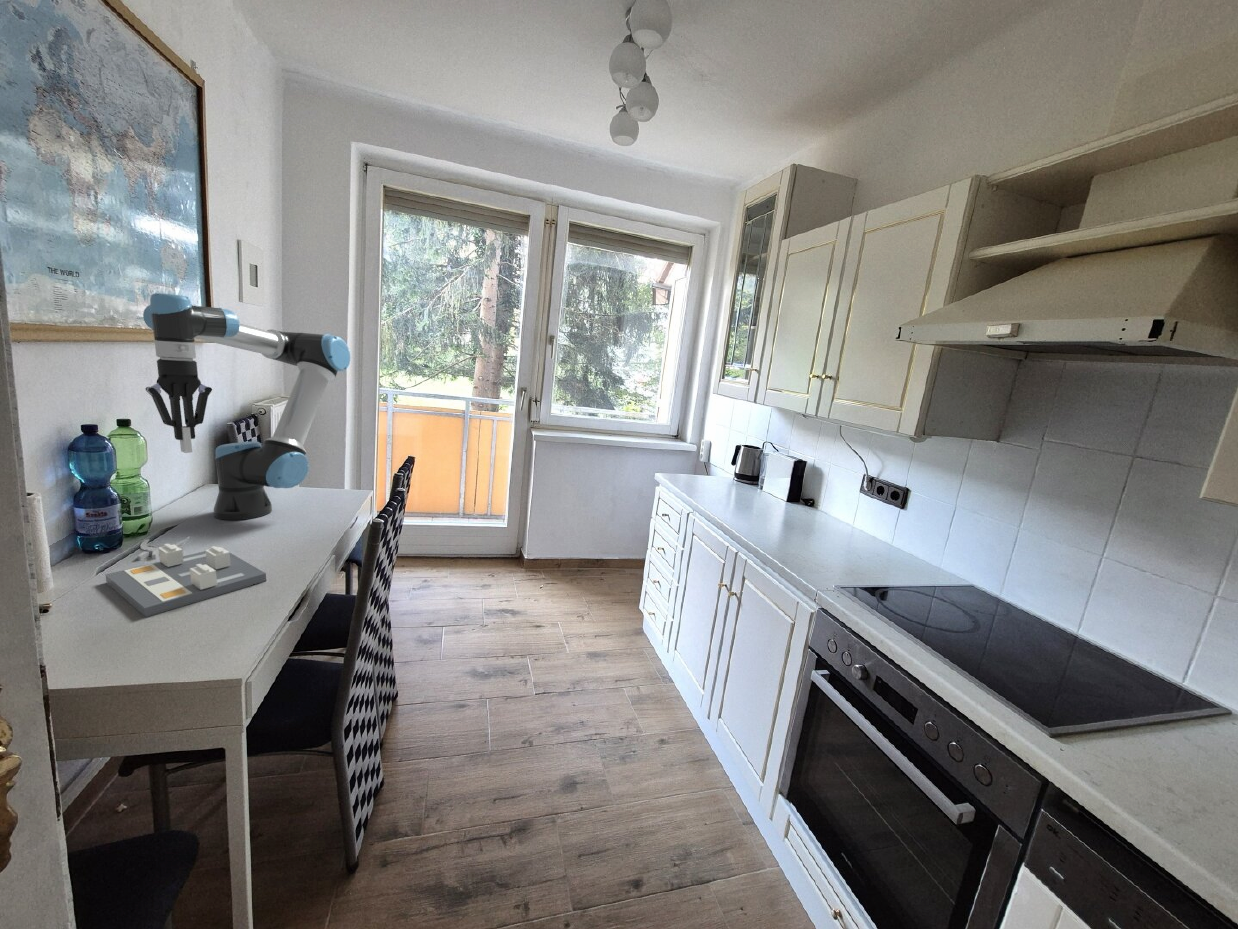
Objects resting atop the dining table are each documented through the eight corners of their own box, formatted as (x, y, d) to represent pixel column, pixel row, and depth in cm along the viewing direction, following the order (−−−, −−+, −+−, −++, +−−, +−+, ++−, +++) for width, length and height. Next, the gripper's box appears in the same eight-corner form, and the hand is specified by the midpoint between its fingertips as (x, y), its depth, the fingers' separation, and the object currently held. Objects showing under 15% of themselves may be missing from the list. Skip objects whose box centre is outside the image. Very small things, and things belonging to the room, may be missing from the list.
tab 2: (221, 560, 125) (219, 544, 124) (230, 565, 122) (229, 549, 121) (206, 563, 122) (205, 547, 121) (215, 569, 120) (214, 553, 119)
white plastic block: (207, 578, 115) (205, 561, 114) (217, 585, 113) (215, 568, 112) (191, 583, 113) (189, 566, 112) (200, 589, 110) (199, 572, 109)
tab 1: (175, 557, 124) (173, 541, 123) (183, 563, 122) (182, 547, 121) (159, 561, 122) (157, 545, 121) (167, 567, 119) (166, 550, 118)
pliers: (191, 533, 142) (171, 553, 129) (191, 538, 142) (172, 559, 129) (145, 536, 138) (120, 557, 125) (146, 541, 138) (121, 563, 125)
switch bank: (221, 554, 133) (220, 546, 133) (266, 581, 121) (265, 572, 120) (106, 582, 115) (105, 573, 114) (145, 617, 102) (144, 607, 102)
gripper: (148, 359, 118) (159, 457, 123) (214, 360, 129) (223, 451, 134) (136, 357, 122) (148, 452, 127) (202, 358, 133) (210, 446, 138)
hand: (186, 451), depth 131 cm, fingers closed
